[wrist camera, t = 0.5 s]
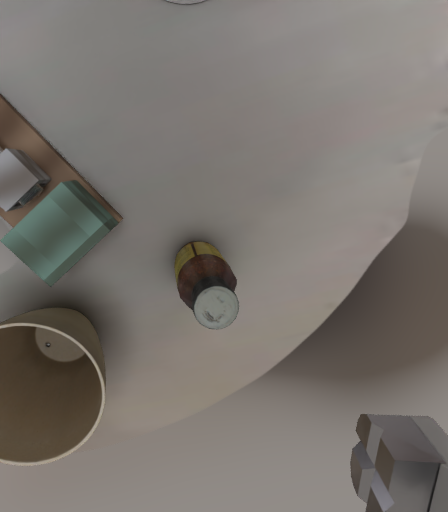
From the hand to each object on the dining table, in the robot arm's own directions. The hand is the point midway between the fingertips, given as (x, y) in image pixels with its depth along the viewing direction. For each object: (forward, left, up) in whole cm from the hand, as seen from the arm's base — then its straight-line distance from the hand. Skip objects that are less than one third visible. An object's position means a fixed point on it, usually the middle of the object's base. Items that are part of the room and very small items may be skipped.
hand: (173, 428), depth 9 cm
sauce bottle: (+7, +3, -47) cm, 48 cm away
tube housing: (-5, -18, -47) cm, 50 cm away
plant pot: (+15, -15, -47) cm, 52 cm away
